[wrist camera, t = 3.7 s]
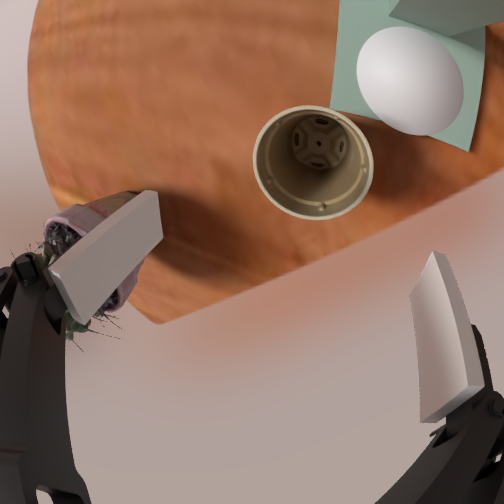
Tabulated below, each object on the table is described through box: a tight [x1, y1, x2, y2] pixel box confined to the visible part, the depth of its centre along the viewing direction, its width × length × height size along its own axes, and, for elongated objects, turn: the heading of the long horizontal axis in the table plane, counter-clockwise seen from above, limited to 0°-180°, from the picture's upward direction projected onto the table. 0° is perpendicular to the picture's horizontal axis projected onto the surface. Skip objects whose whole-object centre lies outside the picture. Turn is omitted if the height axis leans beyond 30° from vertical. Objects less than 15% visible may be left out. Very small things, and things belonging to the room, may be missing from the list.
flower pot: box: [253, 105, 374, 220], centre depth 23 cm, size 9×9×9 cm
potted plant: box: [28, 191, 147, 342], centre depth 32 cm, size 18×20×25 cm
